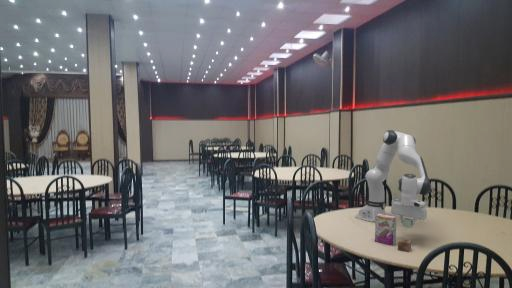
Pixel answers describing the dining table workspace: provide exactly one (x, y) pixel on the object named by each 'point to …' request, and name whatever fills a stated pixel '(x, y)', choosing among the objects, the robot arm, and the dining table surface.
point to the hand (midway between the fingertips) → (407, 223)
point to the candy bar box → (385, 229)
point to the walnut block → (404, 245)
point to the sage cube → (407, 223)
